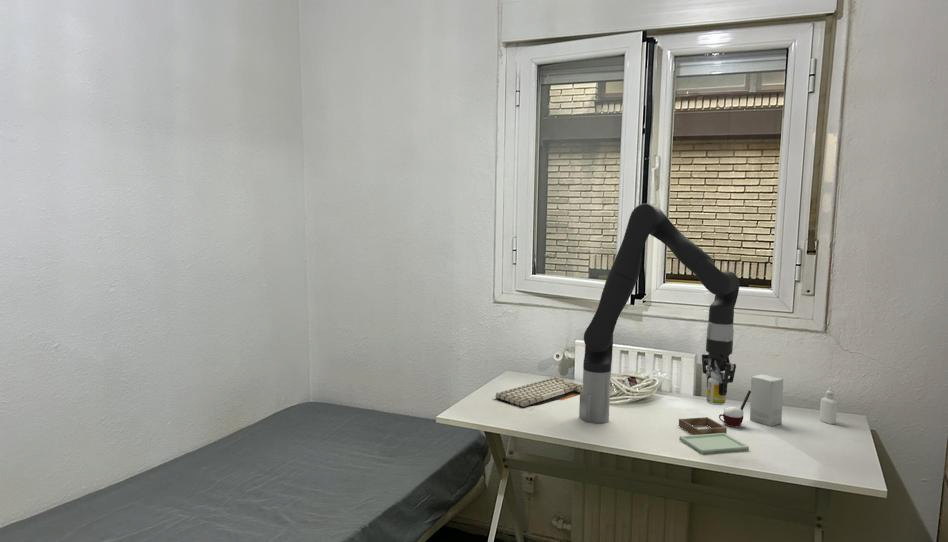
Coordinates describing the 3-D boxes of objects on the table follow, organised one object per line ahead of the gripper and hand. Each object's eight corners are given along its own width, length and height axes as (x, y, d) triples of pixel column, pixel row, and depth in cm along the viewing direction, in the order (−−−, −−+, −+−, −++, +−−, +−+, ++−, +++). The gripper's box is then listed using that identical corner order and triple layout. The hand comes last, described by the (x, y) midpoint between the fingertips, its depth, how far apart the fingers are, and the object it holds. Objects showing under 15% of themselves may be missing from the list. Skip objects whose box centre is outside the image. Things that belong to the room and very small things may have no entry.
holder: (697, 437, 203) (697, 429, 203) (678, 426, 213) (678, 418, 213) (726, 435, 206) (726, 427, 205) (706, 424, 216) (707, 417, 216)
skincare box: (781, 424, 218) (785, 379, 216) (769, 427, 215) (773, 381, 213) (759, 416, 225) (762, 373, 224) (747, 419, 222) (750, 375, 220)
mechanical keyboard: (529, 412, 226) (530, 403, 226) (490, 400, 239) (490, 391, 239) (591, 392, 252) (592, 384, 252) (553, 383, 266) (553, 375, 266)
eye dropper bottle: (832, 419, 223) (835, 386, 222) (836, 425, 218) (839, 390, 217) (818, 418, 225) (821, 385, 223) (822, 423, 219) (825, 389, 218)
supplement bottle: (702, 402, 196) (704, 371, 195) (712, 399, 199) (714, 369, 198) (719, 406, 192) (721, 375, 191) (728, 403, 195) (730, 372, 194)
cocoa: (718, 426, 215) (718, 391, 214) (721, 420, 221) (721, 386, 219) (748, 430, 211) (748, 395, 209) (751, 424, 216) (751, 389, 215)
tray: (701, 454, 189) (702, 450, 189) (679, 439, 201) (679, 436, 201) (748, 450, 193) (749, 446, 193) (724, 436, 205) (724, 432, 204)
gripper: (695, 333, 200) (691, 386, 201) (723, 342, 186) (720, 399, 187) (716, 332, 201) (713, 385, 203) (746, 342, 188) (742, 398, 189)
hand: (716, 391), depth 195 cm, fingers closed on supplement bottle, 5 cm apart
